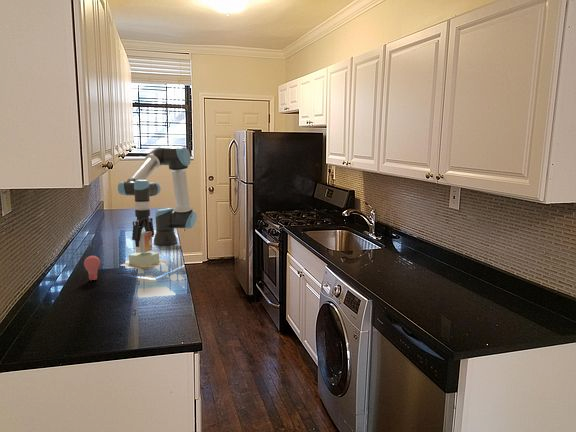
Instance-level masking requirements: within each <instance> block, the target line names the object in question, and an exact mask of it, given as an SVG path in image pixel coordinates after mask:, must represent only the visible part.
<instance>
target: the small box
mask: <svg viewBox="0 0 576 432" xmlns="http://www.w3.org/2000/svg"><path fill="white" fill-rule="evenodd" d="M140 241H141V253H146V252H152V251H153V237H152V232H151V231H145V230H142V232H141V236H140ZM135 250H136V246H135Z"/></svg>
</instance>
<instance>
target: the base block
mask: <svg viewBox="0 0 576 432" xmlns="http://www.w3.org/2000/svg"><path fill="white" fill-rule="evenodd" d="M159 260H160V252H155V251H148V252H146V253H136V252H134V253H130V254H128V262H129V264H133V265H142V266H150V265H152V264H155V263H158V262H159Z"/></svg>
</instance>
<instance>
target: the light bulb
mask: <svg viewBox="0 0 576 432" xmlns="http://www.w3.org/2000/svg"><path fill="white" fill-rule="evenodd" d="M100 266H101V260H100V258H99V257H98V256H96V255H89V256H88V257H86V258H85V259H84V262H83V267H84V268H85V270H86V271H87V274H88V279H89V281H92V280H94V281H95V280H98V271H99V269H100Z"/></svg>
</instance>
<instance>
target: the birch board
mask: <svg viewBox="0 0 576 432" xmlns="http://www.w3.org/2000/svg"><path fill="white" fill-rule="evenodd" d="M168 261H169V260H166V259H159V262H158V263H155V264H152V265H150V266H142V265H133V264H129V261H128V262H124V263H122V264H120V265H119V267H120V266H123V267H131V268H136V269H137V268H138V269H140V268H141V269H146V270H147V269H148V270H149V269H151V268H153V267H156V266H158V265H161V264H163V263H166V262H168Z"/></svg>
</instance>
